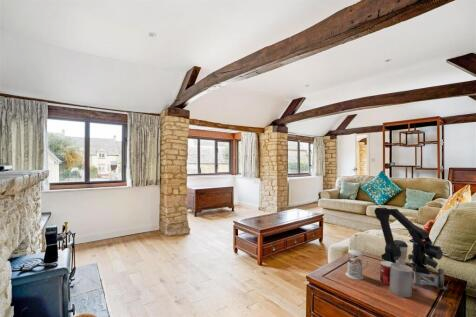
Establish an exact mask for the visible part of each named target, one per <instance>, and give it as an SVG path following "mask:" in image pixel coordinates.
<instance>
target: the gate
mask: <svg viewBox="0 0 476 317" xmlns="http://www.w3.org/2000/svg"><path fill="white" fill-rule="evenodd" d="M413 273H414V274H413V281H414V280H415V271H413ZM428 277H429V278H432V279H433V281H432V280H430V279H429V278H428ZM420 278H422V279H420V285H429V286H435V287H436V286H438V274H436V273H430V274H429V275H428V274H423V273H420Z"/></svg>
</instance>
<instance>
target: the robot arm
mask: <svg viewBox="0 0 476 317" xmlns="http://www.w3.org/2000/svg"><path fill="white" fill-rule="evenodd" d="M374 215H375V217H376V219H377V220H378V221H379V222H380V223H379V224H380V227H381V230H382V234H383V238H384V242H385V247H384V253H383V254H381V255H380V256H381V259H382V260H383V261H389V262H392V263H396V260H398V258H400V256H401V251H400V247H399V246H398V247H397V246H396V245H395V243H394V235H393V232H392V229H391V225H390V221H389V220H390V216H392V217H393V218H394V219H395V220H397V221H398V222H399V223H400V224H401V225H402V226H403V227H404V228H405V229H406V230H407V231H408V234H409V235H410V236H411V239H409V240H408V242H410V243H412V250H411V254H407V259H408V261H411V262H410V266H411V268H412V270H413V271H412V272H414V271H416V272H418V273H423V274H428V275H429V274H431V270H430V269H429V268H428V267H427V266H429V267H432V268H433V269H436V268H437V267H438V265H439V263H438V262H437V261H436V260H441V259H442V258H443V255H444V252H443V250H442V249H441V246H439V245H435V244H434V243H433V241H432V240H431V238H430V236H429V232H427V231H426V230H425V229H423V228H422V227H420V226H417V224H416V225H415V224H414V223H413V222H412V221H411V220H409V218H408V217H406V216H405V215H404V214H403V213H402V212H400V210H399V209H398V208H387V207H383V206H382V207H376V208H375V209H374ZM435 259H436V260H435Z"/></svg>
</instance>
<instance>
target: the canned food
mask: <svg viewBox="0 0 476 317" xmlns="http://www.w3.org/2000/svg"><path fill="white" fill-rule="evenodd" d="M391 263H392V262H389V261H384V260H381V261H380V268H379V270H380V271H379V272H380V274H379V275H380V276H379V281H380V283H382V284H384V285H385V286H388V287H390V265H391Z"/></svg>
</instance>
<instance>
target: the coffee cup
mask: <svg viewBox="0 0 476 317" xmlns="http://www.w3.org/2000/svg"><path fill="white" fill-rule="evenodd" d="M394 243H395V245H396V246H397V247H398V246H399V247H400V251H401V256H400V258H398V260H396V263H401V264H404V265H406V261H407V258H408V247H409V246H408V244H407V243H406V241H404V240H401V239H400V240H399V239H395V240H394Z"/></svg>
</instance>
